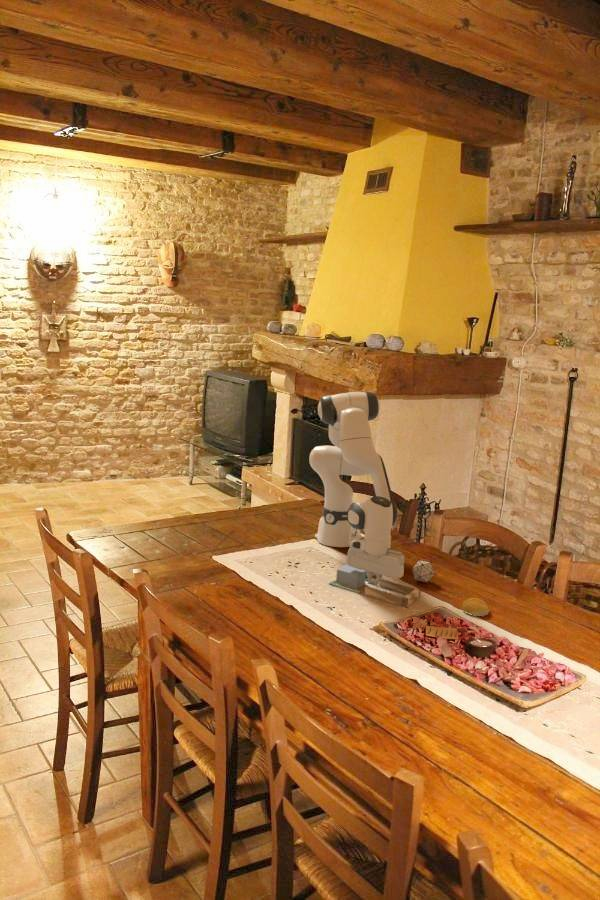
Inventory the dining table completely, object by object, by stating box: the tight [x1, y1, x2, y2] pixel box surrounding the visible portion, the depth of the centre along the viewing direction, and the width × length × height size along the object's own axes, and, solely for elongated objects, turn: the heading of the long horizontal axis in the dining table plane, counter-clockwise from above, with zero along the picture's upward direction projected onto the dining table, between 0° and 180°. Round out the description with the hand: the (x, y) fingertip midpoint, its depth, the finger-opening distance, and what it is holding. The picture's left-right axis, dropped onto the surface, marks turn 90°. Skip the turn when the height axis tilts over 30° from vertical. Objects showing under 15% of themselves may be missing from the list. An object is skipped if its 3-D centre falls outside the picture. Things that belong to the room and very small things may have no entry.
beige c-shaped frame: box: [364, 577, 422, 608], centre depth 245 cm, size 11×15×2 cm
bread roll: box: [462, 597, 490, 617], centre depth 236 cm, size 8×9×4 cm
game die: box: [409, 557, 437, 585], centre depth 258 cm, size 9×8×10 cm
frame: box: [328, 578, 369, 594], centre depth 253 cm, size 13×12×1 cm
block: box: [335, 564, 366, 590], centre depth 253 cm, size 6×8×5 cm
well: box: [365, 573, 377, 579], centre depth 261 cm, size 5×9×2 cm, turn 57°
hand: (373, 584), depth 248 cm, fingers closed
